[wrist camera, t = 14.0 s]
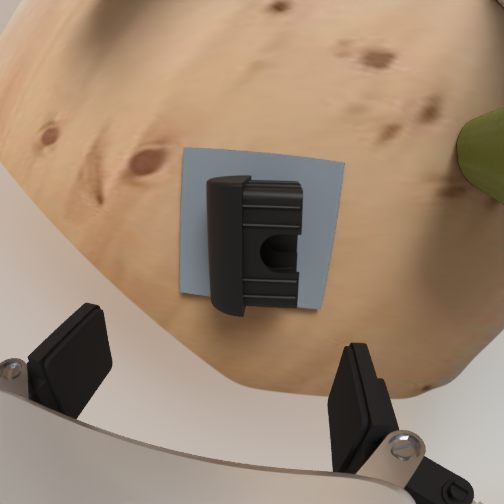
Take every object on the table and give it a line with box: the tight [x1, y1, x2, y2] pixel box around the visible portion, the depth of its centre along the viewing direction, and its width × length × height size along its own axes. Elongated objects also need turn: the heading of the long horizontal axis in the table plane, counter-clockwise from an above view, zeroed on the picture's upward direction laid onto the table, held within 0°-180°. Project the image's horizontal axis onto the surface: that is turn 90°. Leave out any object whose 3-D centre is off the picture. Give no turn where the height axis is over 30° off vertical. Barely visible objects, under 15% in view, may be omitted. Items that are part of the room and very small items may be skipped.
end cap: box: [206, 175, 303, 317], centre depth 25 cm, size 10×7×7 cm
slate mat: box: [180, 148, 345, 310], centre depth 29 cm, size 14×14×1 cm
